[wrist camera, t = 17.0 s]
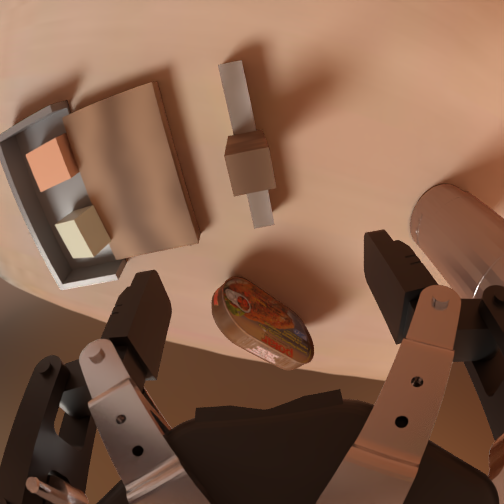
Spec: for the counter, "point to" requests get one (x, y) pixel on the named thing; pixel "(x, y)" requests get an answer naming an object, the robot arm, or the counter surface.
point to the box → (52, 201)
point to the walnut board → (133, 172)
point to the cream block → (83, 232)
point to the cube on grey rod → (247, 147)
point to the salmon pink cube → (53, 162)
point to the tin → (261, 324)
